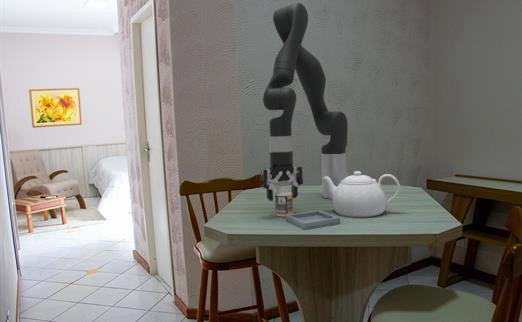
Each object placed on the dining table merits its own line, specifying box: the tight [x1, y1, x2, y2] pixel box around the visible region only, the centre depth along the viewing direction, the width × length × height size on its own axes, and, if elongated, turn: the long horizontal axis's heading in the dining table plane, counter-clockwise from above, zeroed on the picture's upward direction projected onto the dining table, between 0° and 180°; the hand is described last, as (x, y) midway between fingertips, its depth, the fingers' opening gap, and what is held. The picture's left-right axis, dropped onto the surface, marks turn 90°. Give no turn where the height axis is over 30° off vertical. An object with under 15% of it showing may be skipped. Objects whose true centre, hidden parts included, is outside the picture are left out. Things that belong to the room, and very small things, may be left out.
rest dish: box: [285, 209, 341, 230], centre depth 129 cm, size 12×12×2 cm
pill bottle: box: [274, 183, 294, 218], centre depth 139 cm, size 6×6×10 cm
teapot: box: [320, 170, 401, 218], centre depth 139 cm, size 19×18×14 cm
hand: (282, 199), depth 139 cm, fingers open, 8 cm apart
